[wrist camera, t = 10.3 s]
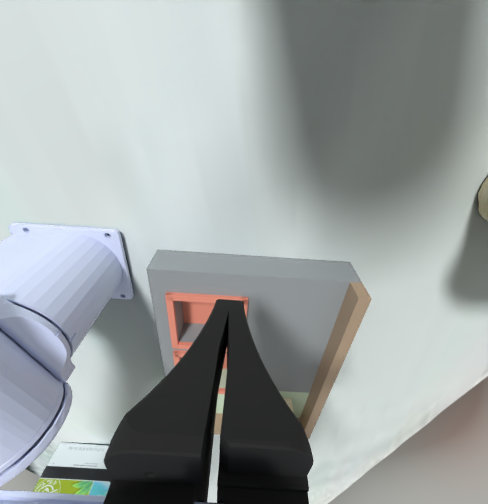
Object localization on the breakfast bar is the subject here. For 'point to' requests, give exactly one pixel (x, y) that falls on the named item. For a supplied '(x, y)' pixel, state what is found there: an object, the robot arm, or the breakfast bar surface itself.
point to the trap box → (264, 317)
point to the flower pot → (483, 200)
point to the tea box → (76, 470)
